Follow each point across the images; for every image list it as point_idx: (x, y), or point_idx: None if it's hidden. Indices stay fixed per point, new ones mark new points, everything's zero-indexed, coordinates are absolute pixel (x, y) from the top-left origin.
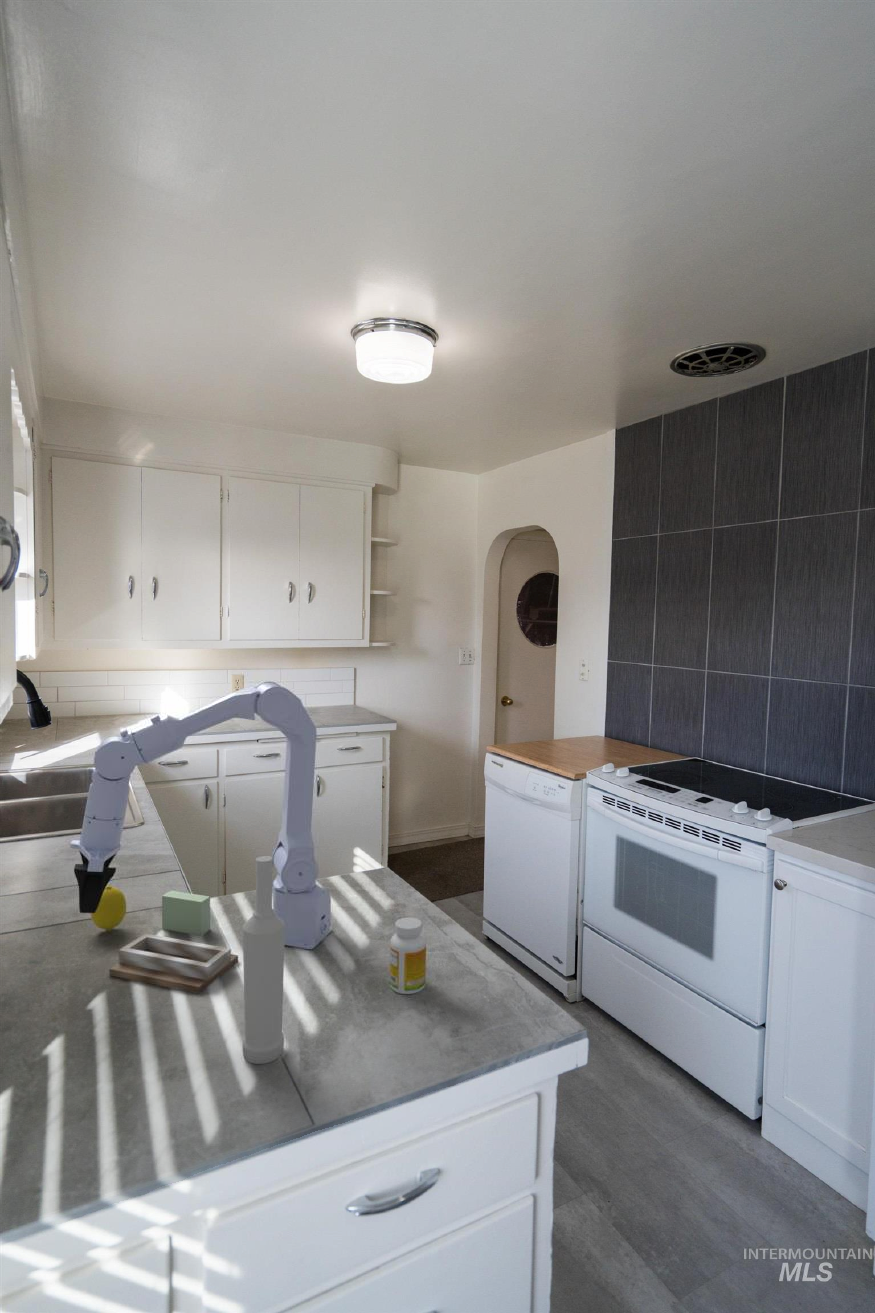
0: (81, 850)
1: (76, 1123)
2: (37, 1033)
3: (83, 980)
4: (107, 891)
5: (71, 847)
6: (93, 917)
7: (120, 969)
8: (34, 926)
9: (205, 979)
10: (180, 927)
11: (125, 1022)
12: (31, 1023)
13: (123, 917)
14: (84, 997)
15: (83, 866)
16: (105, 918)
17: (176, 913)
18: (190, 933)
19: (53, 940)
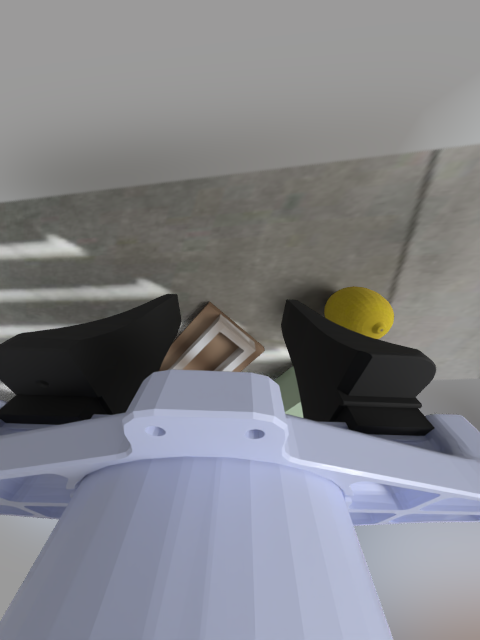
0: (70, 438)
1: None
2: (91, 224)
3: (207, 273)
4: (367, 325)
5: (145, 382)
6: (344, 290)
7: (201, 315)
8: (430, 192)
9: None
10: (287, 375)
11: (103, 314)
12: (115, 215)
13: None
14: (164, 275)
15: (52, 380)
16: (328, 307)
17: (296, 383)
18: (276, 379)
19: (352, 228)
